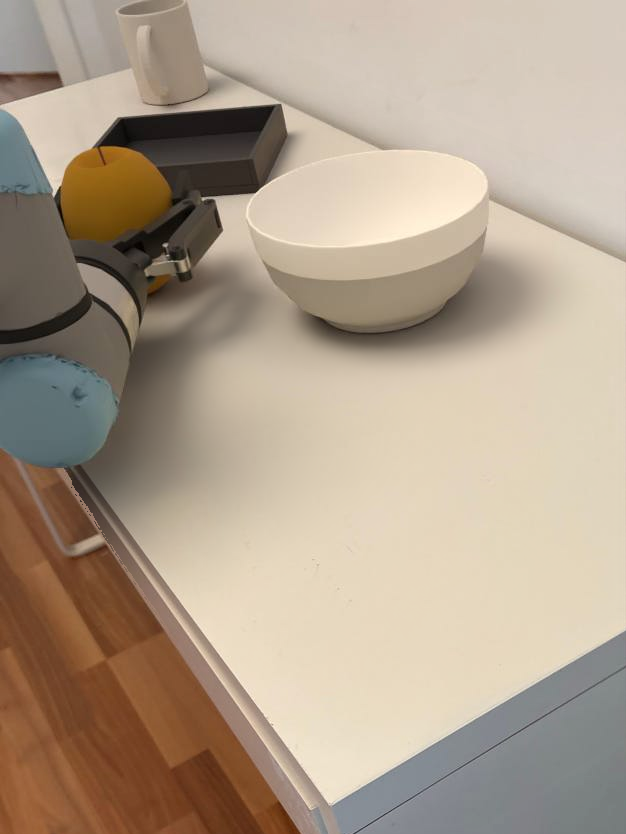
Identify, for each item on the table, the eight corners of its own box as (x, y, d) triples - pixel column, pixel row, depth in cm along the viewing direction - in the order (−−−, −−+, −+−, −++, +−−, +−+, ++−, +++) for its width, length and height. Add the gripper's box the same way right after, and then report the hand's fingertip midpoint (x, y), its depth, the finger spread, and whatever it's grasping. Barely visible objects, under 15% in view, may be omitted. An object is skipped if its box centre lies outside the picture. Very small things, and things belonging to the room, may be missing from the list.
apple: (223, 275, 87) (184, 135, 79) (138, 322, 82) (87, 177, 74) (153, 254, 92) (110, 120, 84) (69, 297, 87) (13, 158, 78)
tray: (81, 206, 102) (69, 173, 100) (127, 147, 114) (117, 117, 112) (260, 192, 101) (252, 158, 99) (287, 134, 113) (281, 103, 111)
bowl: (224, 333, 80) (193, 226, 73) (357, 239, 90) (340, 139, 84) (417, 379, 72) (400, 264, 66) (537, 271, 83) (532, 163, 77)
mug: (180, 80, 132) (157, -7, 125) (226, 88, 128) (204, -1, 121) (115, 104, 127) (87, 16, 120) (160, 114, 122) (134, 23, 115)
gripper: (-47, 378, 72) (19, 252, 88) (253, 338, 73) (266, 220, 88) (-98, 281, 67) (-18, 165, 83) (227, 238, 67) (245, 131, 83)
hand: (129, 193), depth 86 cm, fingers closed on apple, 10 cm apart
